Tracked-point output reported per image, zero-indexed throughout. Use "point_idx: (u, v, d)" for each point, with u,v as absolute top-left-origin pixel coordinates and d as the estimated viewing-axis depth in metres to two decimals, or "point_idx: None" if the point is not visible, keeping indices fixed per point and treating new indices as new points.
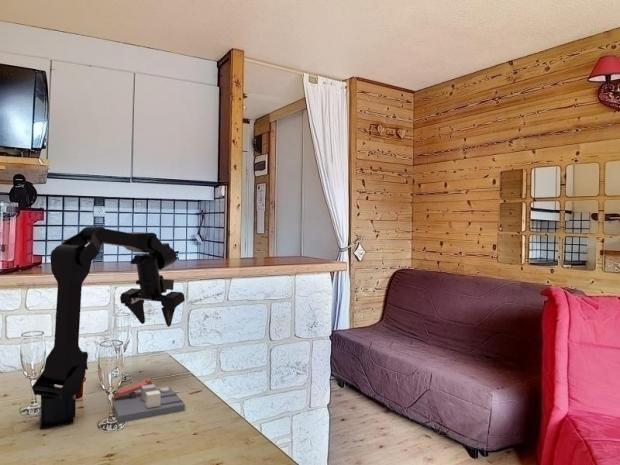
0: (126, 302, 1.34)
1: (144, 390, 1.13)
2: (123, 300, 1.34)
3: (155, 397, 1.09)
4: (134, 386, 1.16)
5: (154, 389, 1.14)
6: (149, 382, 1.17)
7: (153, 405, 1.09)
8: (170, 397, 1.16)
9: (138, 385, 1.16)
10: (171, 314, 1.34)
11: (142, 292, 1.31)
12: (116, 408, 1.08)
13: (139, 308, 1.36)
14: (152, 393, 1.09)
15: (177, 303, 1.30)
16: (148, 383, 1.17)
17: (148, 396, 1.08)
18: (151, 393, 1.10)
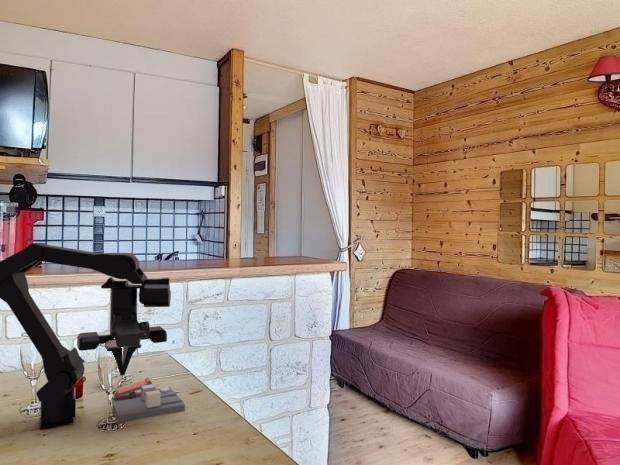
0: None
1: (144, 390, 1.13)
2: None
3: (155, 397, 1.09)
4: (134, 386, 1.16)
5: (154, 389, 1.14)
6: (149, 382, 1.17)
7: (153, 405, 1.09)
8: (170, 397, 1.16)
9: (138, 385, 1.16)
10: (116, 359, 1.06)
11: None
12: (116, 408, 1.08)
13: (124, 353, 1.07)
14: (152, 393, 1.09)
15: (77, 343, 1.03)
16: (148, 383, 1.17)
17: (148, 396, 1.08)
18: (151, 393, 1.10)
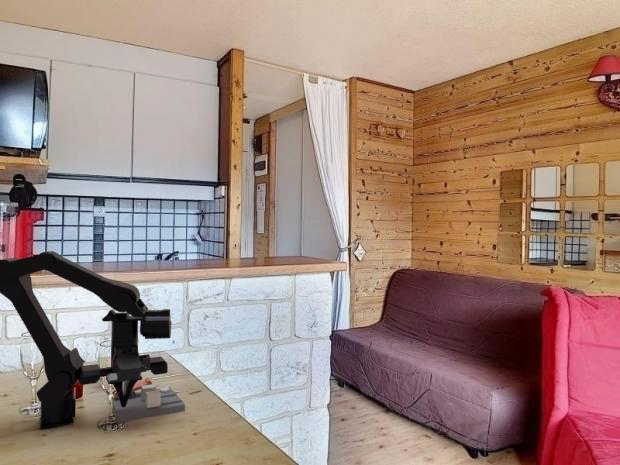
0: None
1: (144, 390, 1.13)
2: None
3: (155, 397, 1.09)
4: (134, 386, 1.16)
5: (154, 389, 1.14)
6: (149, 382, 1.17)
7: (153, 405, 1.09)
8: (170, 397, 1.16)
9: (138, 385, 1.16)
10: (117, 392, 1.06)
11: None
12: (116, 408, 1.08)
13: (125, 384, 1.07)
14: (152, 393, 1.09)
15: (78, 377, 1.03)
16: (148, 383, 1.17)
17: (148, 396, 1.08)
18: (151, 393, 1.10)
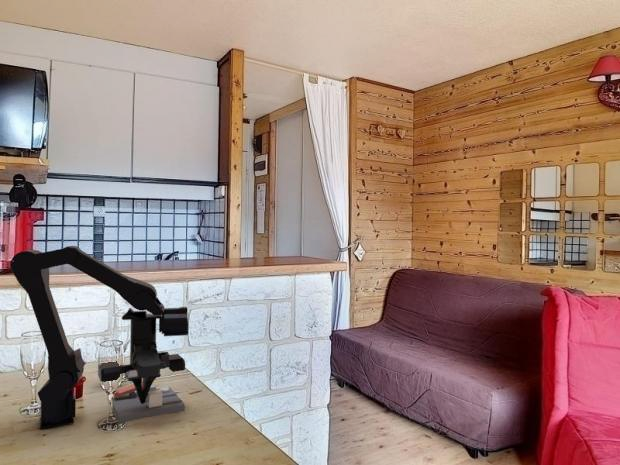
0: None
1: None
2: None
3: (157, 397, 1.10)
4: (134, 386, 1.16)
5: (154, 389, 1.14)
6: None
7: (155, 405, 1.09)
8: (170, 397, 1.16)
9: None
10: None
11: None
12: (116, 408, 1.08)
13: (144, 381, 1.09)
14: (153, 393, 1.10)
15: (99, 374, 1.05)
16: None
17: (150, 396, 1.09)
18: (153, 393, 1.10)
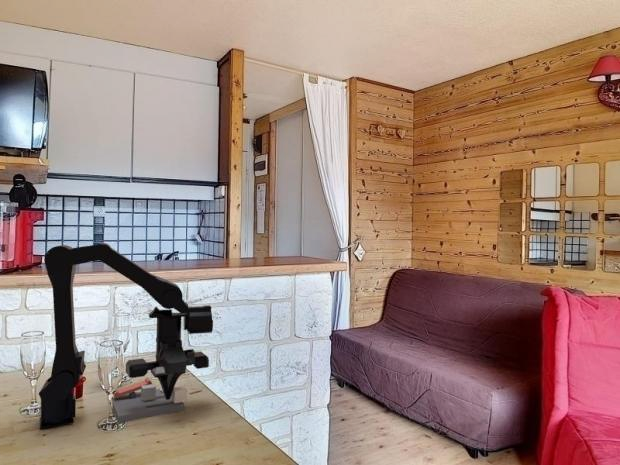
0: None
1: (144, 390, 1.13)
2: None
3: (182, 393, 1.13)
4: (134, 386, 1.16)
5: (154, 389, 1.14)
6: (149, 382, 1.17)
7: (180, 400, 1.12)
8: (170, 397, 1.16)
9: (138, 385, 1.16)
10: (162, 385, 1.11)
11: None
12: (116, 408, 1.08)
13: (169, 378, 1.12)
14: (178, 389, 1.13)
15: (126, 370, 1.08)
16: (148, 383, 1.17)
17: (175, 392, 1.12)
18: (178, 389, 1.13)
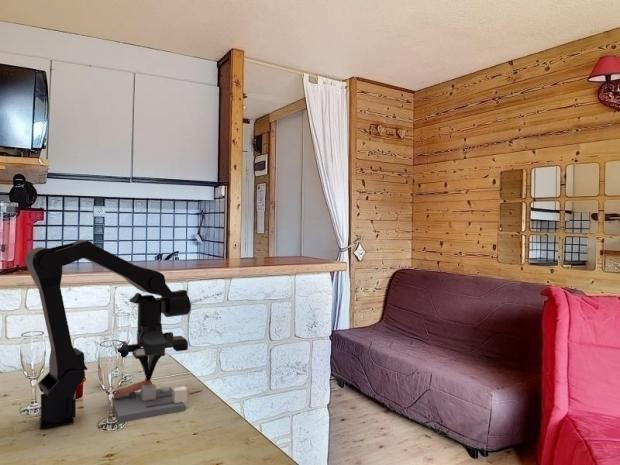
0: None
1: (144, 390, 1.13)
2: None
3: (182, 393, 1.13)
4: (134, 386, 1.16)
5: (154, 389, 1.14)
6: (149, 382, 1.17)
7: (180, 400, 1.12)
8: (170, 397, 1.16)
9: (138, 385, 1.16)
10: (143, 366, 1.17)
11: None
12: (116, 408, 1.08)
13: (150, 360, 1.19)
14: (178, 389, 1.13)
15: None
16: (148, 383, 1.17)
17: (175, 392, 1.12)
18: (178, 389, 1.13)
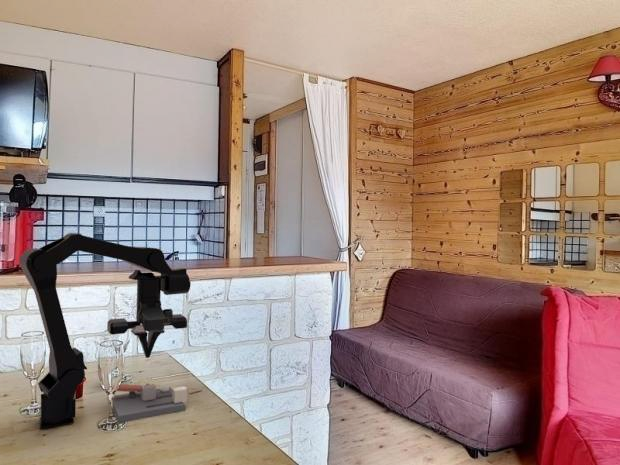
0: None
1: (144, 390, 1.13)
2: None
3: (182, 393, 1.13)
4: (135, 387, 1.16)
5: (154, 389, 1.14)
6: None
7: (180, 400, 1.12)
8: (170, 397, 1.16)
9: (138, 387, 1.17)
10: (142, 343, 1.17)
11: None
12: (116, 408, 1.08)
13: (149, 337, 1.18)
14: (178, 389, 1.13)
15: (108, 328, 1.14)
16: None
17: (175, 392, 1.12)
18: (178, 389, 1.13)
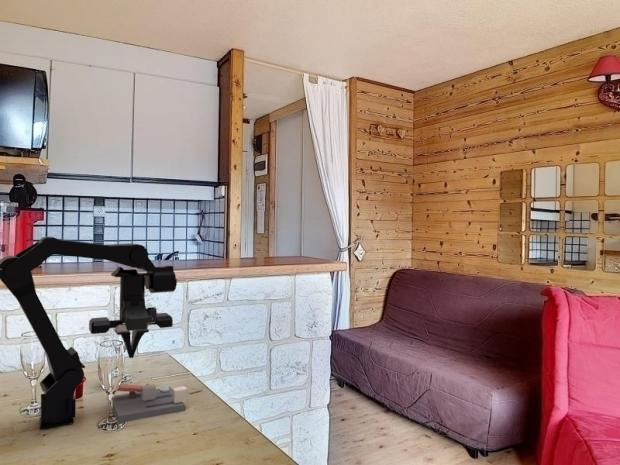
0: None
1: (144, 390, 1.13)
2: None
3: (182, 393, 1.13)
4: (135, 387, 1.16)
5: (154, 389, 1.14)
6: None
7: (180, 400, 1.12)
8: (170, 397, 1.16)
9: (138, 387, 1.17)
10: None
11: None
12: (116, 408, 1.08)
13: (133, 337, 1.14)
14: (178, 389, 1.13)
15: (89, 328, 1.10)
16: None
17: (175, 392, 1.12)
18: (178, 389, 1.13)
